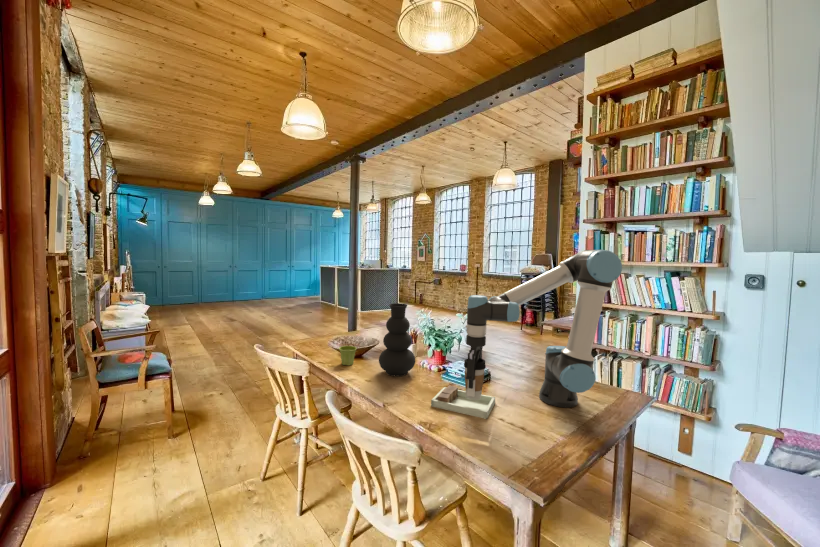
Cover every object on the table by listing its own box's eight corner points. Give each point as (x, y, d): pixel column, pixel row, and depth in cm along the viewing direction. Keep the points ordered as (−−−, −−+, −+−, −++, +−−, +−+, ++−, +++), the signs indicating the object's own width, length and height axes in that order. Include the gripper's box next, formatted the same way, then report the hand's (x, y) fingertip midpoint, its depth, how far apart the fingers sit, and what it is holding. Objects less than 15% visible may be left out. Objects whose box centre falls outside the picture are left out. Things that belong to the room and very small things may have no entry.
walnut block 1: (449, 404, 140) (450, 394, 139) (447, 408, 136) (447, 398, 136) (440, 402, 141) (440, 392, 141) (437, 406, 137) (437, 396, 137)
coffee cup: (484, 402, 133) (486, 364, 132) (462, 400, 134) (463, 362, 133) (484, 394, 141) (485, 357, 140) (463, 391, 142) (464, 355, 141)
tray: (494, 405, 142) (495, 397, 141) (486, 421, 128) (486, 412, 128) (443, 394, 151) (444, 386, 151) (431, 408, 137) (431, 400, 137)
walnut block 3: (457, 396, 147) (457, 387, 147) (454, 400, 144) (454, 390, 143) (448, 394, 149) (448, 385, 149) (445, 398, 145) (445, 388, 145)
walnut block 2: (453, 399, 144) (453, 390, 143) (450, 403, 140) (450, 393, 140) (444, 397, 145) (444, 388, 145) (441, 401, 142) (441, 392, 141)
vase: (402, 382, 163) (404, 309, 161) (371, 375, 172) (372, 305, 170) (421, 371, 179) (423, 304, 177) (391, 364, 188) (392, 300, 186)
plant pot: (350, 360, 195) (351, 344, 195) (359, 364, 188) (359, 348, 187) (335, 363, 189) (335, 347, 189) (344, 367, 182) (344, 351, 181)
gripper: (473, 328, 147) (471, 381, 148) (459, 339, 128) (456, 399, 130) (491, 331, 143) (488, 385, 145) (479, 342, 125) (476, 404, 127)
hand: (473, 391), depth 137 cm, fingers closed on coffee cup, 7 cm apart
